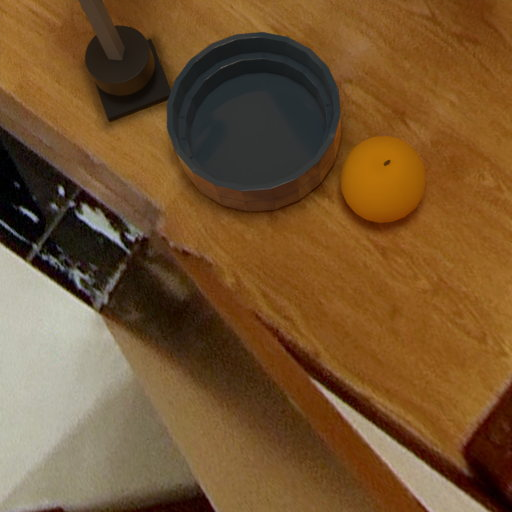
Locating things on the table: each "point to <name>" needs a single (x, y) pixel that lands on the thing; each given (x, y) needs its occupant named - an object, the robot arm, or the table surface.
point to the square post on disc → (116, 53)
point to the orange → (383, 179)
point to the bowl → (255, 121)
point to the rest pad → (138, 94)
